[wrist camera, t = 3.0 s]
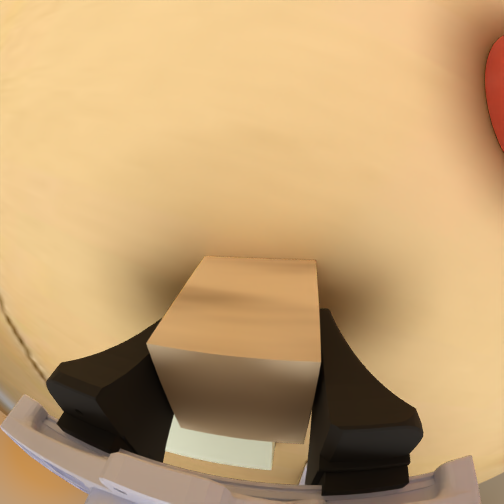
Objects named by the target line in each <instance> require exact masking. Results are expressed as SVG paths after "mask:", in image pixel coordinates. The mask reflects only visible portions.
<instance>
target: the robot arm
mask: <svg viewBox="0 0 504 504" xmlns="http://www.w3.org/2000/svg"><path fill="white" fill-rule="evenodd" d="M319 317H320V342H321V365H320V371H319V376H318V381H317V386H316V391H315V396H314V401H313V406H312V417H311V431H310V443H309V453H308V462H307V463H306V465H305V468H304V471H303V474H302V476H301V479H300V482H299V485H288V484H273V483H262V482H253V481H246V480H238V479H232V478H226V477H220V476H215V475H210V474H205V473H200V472H196V471H191V470H187V469H183V468H179V467H176V466H172V465H168V464H165V463H163V459H164V454H165V449H166V444H167V440H168V436H169V431H170V428H171V424H172V420H173V417H174V412H173V410H172V408H171V406H170V403H169V401H168V399H167V396H166V394H165V391H164V389H163V387H162V384H161V382H160V379H159V377H158V374H157V371H156V369H155V366H154V364H153V361H152V358H151V355H150V353H149V350H148V347H147V344H146V343H147V341H148V340H149V338H150V337H151V335H152V334H153V332H154V330H155V329H156V327H157V326H158V324H159V323H160V321H161V320H162V318H161V319H160V320H159V321H157V322H156V323H154V324H153V325H151V326H150V327H148V328H147V329H145V330H144V331H142V332H141V333H139V334H138V335H136V336H134V337H132V338H131V339H129V340H127V341H125V342H123V343H121V344H119V345H117V346H114V347H112V348H110V349H107V350H105V351H103V352H100V353H97V354H94V355H91V356H88V357H85V358H81V359H77V360H72V361H67V362H62V363H60V365H59V366H58V367H57V368H56V370H55V371H54V372H53V373H52V375H51V376H50V377H49V378H48V380H47V381H46V385H47V388H48V390H49V392H50V394H51V395H52V396H53V398H54V399H55V401H56V402H57V403H58V405H59V406H60V407H61V408H62V410H63V411H64V413H63V414H62V416H61V417H60V419H59V420H58V419H56V418H55V417H53V416H51V415H49V414H48V412H47V411H46V409H45V408H44V407H43V406H42V405H41V404H40V403H39V402H37V401H36V400H34V399H32V398H31V397H29V396H28V395H26V394H24V395H23V396H22V397H21V399H20V400H19V401H18V403H17V404H16V405H15V406H14V408H13V409H12V411H11V412H10V413H9V415H8V416H7V417H6V419H5V420H4V421H3V423H2V424H1V426H0V427H1V429H2V430H3V431H4V432H5V433H6V434H7V435H8V436H9V437H10V438H11V439H12V440H13V441H14V442H15V443H16V444H17V445H18V446H20V447H21V448H22V449H23V450H24V451H25V452H26V453H27V454H28V455H30V456H31V457H32V458H34V459H35V460H36V461H38V462H39V463H41V464H42V465H43V466H45V467H46V468H48V469H49V470H50V471H52V472H53V473H55V474H56V475H58V476H59V477H61V478H62V479H64V480H66V481H67V482H69V483H70V484H72V485H74V486H75V487H77V488H79V489H80V490H82V491H84V492H86V493H87V494H89V495H88V497H87V499H86V501H85V504H481V499H480V493H479V487H478V482H477V477H476V472H475V467H474V463H473V459H472V456H471V455H468V456H465V457H462V458H458V459H455V460H451V461H448V462H446V463H444V464H442V465H440V466H439V467H438V468H437V469H436V470H435V471H434V472H430V473H426V474H421V475H417V476H411V477H409V474H408V466H407V465H409V464H410V455H409V454H410V453H411V451H412V450H413V449H414V448H415V447H416V446H417V445H418V443H419V442H420V441H421V439H422V437H423V429H422V424H421V421H420V418H419V416H418V413H417V411H416V409H415V408H414V407H412V406H411V405H409V404H408V403H406V402H405V401H403V400H401V399H400V398H398V397H397V396H396V395H394V394H393V393H392V392H391V391H389V390H388V389H387V388H386V387H385V386H383V385H382V384H381V383H380V382H379V381H378V380H377V379H376V378H375V377H374V376H373V375H372V374H371V373H370V372H369V371H368V370H367V369H366V368H365V366H364V365H363V364H362V363H361V362H360V360H359V359H358V358H357V357H356V355H355V354H354V352H353V351H352V350H351V348H350V347H349V345H348V344H347V342H346V341H345V339H344V337H343V336H342V334H341V332H340V330H339V329H338V327H337V325H336V323H335V321H334V319H333V317H332V315H331V312H330V310H329V309H320V308H319Z"/></svg>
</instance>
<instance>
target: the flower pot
mask: <svg viewBox="0 0 504 504" xmlns="http://www.w3.org/2000/svg"><path fill="white" fill-rule="evenodd" d="M485 90H486V98H487V105H488V110H489V114H490V118H491V122H492V125H493V128H494V131H495V134H496V137H497V139H498V142H499V144H500V146H501V148H502V150H503V152H504V35H503V36H502V37H500V38H499V39H498V40H497V41H496V42H495V43H494V44H493V46H492V48H491V50H490V52H489V56H488V59H487V63H486V71H485Z"/></svg>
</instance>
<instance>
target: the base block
mask: <svg viewBox="0 0 504 504" xmlns="http://www.w3.org/2000/svg"><path fill="white" fill-rule="evenodd" d="M274 450H275V442H266V441H256V440H247V439H240V438H233V437H226V436H220V435H214V434H208V433H203V432H198V431H193V430H188V429H184V428H180V425H179V423H178V421H177V419H176V417H175V415H174V417H173V420H172V424H171V428H170V431H169V436H168V440H167V444H166V449H165V451H167V452H171V453H174V454H178V455H182V456H186V457H191V458H195V459H200V460H204V461H209V462H214V463H220V464H226V465H232V466H238V467H246V468H254V469H263V470H271V469H272V463H273V457H274Z"/></svg>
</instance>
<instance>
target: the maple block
mask: <svg viewBox="0 0 504 504" xmlns="http://www.w3.org/2000/svg"><path fill="white" fill-rule="evenodd" d="M146 344H147V347H148V350H149V353H150V355H151V358H152V361H153V364H154V366H155V369H156V371H157V374H158V377H159V379H160V382H161V384H162V387H163V389H164V391H165V394H166V396H167V399H168V401H169V403H170V406H171V408H172V410H173V412H174V415H175V417H176V419H177V421H178V423H179V425H180V428H184V429H188V430H193V431H198V432H203V433H208V434H214V435H220V436H226V437H233V438H240V439H247V440H256V441H266V442H278V443H295V444H304V440H305V436H306V432H307V428H308V424H309V419H310V415H311V410H312V406H313V401H314V396H315V391H316V386H317V381H318V376H319V371H320V365H321V342H320V317H319V298H318V282H317V268H316V260H297V259H270V258H244V257H219V256H204V258H203V259H202V261H201V262H200V263H199V265H198V266H197V268H196V269H195V271H194V272H193V274H192V275H191V277H190V278H189V280H188V281H187V282H186V284H185V285H184V287H183V288H182V290H181V291H180V293H179V294H178V296H177V297H176V299H175V300H174V302H173V303H172V305H171V306H170V308H169V309H168V311H167V312H166V314H165V315H164V317H163V318H162V320H161V321H160V323H159V324H158V326H157V327H156V329H155V330H154V332H153V334H152V335H151V337H150V338H149V340H148V341H147V343H146Z"/></svg>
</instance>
